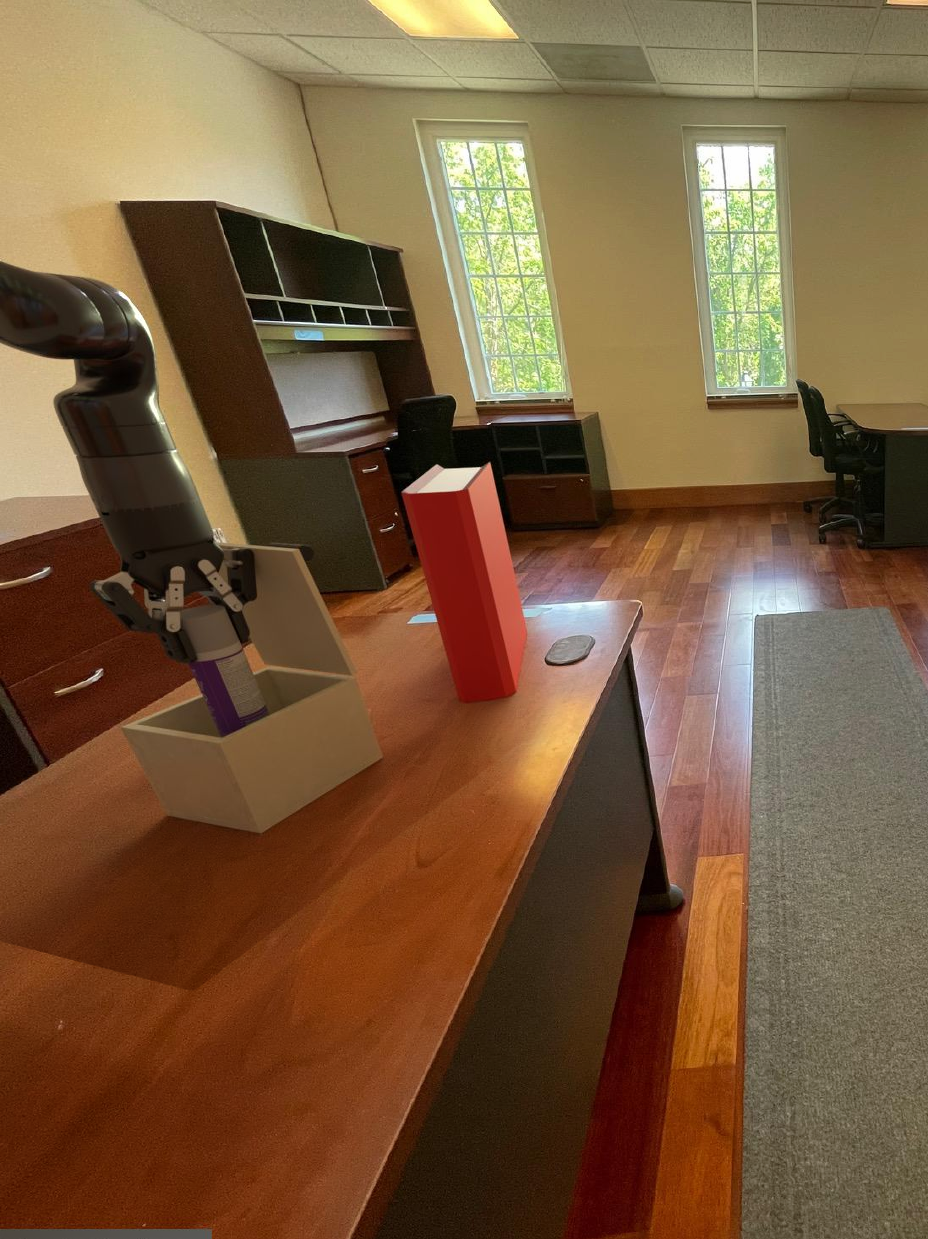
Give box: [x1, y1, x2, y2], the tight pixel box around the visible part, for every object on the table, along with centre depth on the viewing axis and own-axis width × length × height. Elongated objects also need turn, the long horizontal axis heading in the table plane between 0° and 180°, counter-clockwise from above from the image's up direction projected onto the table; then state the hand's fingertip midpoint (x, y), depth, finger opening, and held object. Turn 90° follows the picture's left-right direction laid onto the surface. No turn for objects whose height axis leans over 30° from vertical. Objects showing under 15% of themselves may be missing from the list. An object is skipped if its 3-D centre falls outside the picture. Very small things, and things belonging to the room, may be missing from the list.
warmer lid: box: [214, 541, 358, 677], centre depth 82 cm, size 17×14×5 cm
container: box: [180, 604, 270, 738], centre depth 75 cm, size 5×5×15 cm
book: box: [401, 461, 528, 704], centre depth 108 cm, size 27×8×32 cm, turn 21°
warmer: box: [120, 665, 384, 834], centre depth 80 cm, size 16×14×12 cm
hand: (213, 651), depth 74 cm, fingers closed on container, 4 cm apart
